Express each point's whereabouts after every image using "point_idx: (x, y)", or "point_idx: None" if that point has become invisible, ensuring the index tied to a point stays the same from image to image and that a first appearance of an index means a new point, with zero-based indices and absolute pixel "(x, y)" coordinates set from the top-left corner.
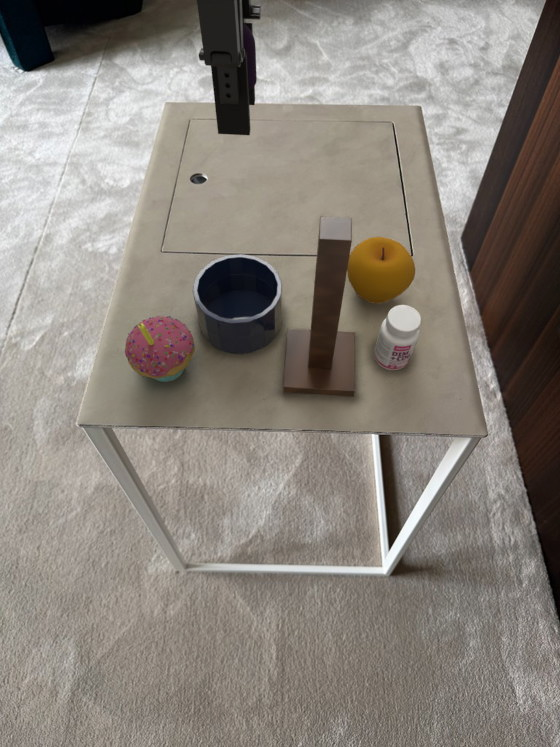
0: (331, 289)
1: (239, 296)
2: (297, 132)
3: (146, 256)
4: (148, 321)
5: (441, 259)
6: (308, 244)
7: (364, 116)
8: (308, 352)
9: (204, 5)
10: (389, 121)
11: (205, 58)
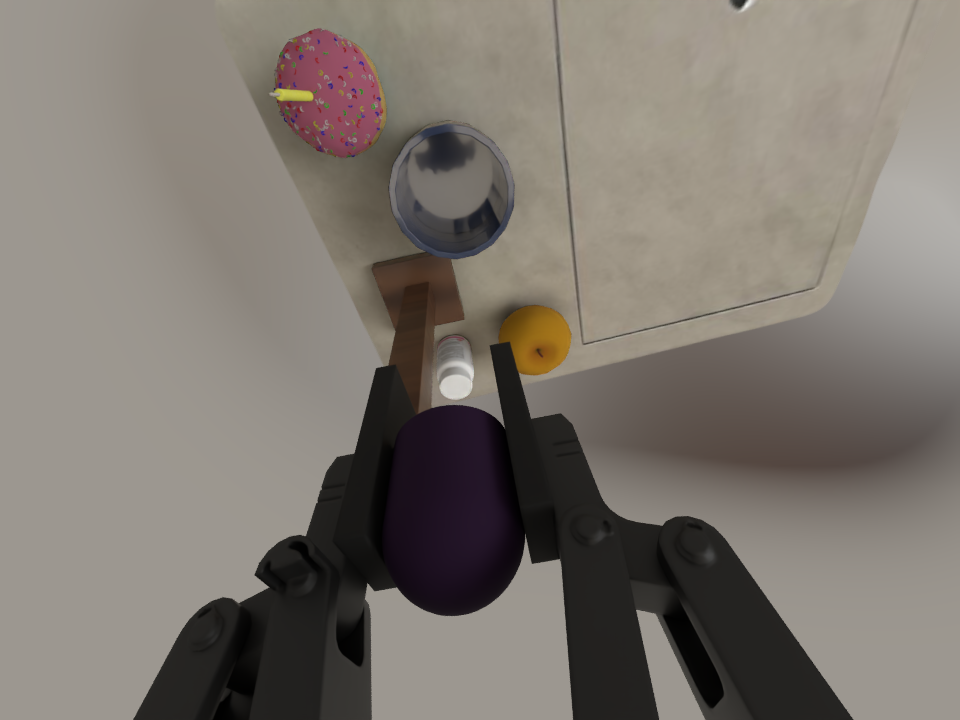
0: None
1: (485, 171)
2: (834, 155)
3: None
4: (347, 67)
5: (581, 368)
6: (591, 235)
7: (842, 249)
8: (424, 282)
9: None
10: (820, 283)
11: (174, 648)
